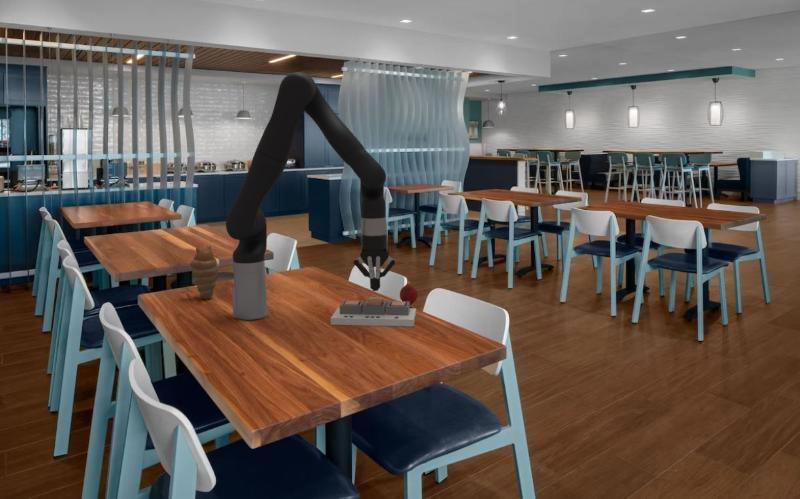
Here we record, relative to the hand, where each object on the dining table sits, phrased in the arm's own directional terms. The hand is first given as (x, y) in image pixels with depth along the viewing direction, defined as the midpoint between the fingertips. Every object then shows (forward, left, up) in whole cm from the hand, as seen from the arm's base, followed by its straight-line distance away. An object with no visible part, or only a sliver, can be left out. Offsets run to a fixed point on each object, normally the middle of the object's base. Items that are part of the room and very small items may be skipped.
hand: (375, 290), depth 179 cm
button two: (-7, 0, -6) cm, 9 cm away
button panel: (0, -1, -9) cm, 9 cm away
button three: (0, 0, -5) cm, 5 cm away
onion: (+9, +15, -9) cm, 19 cm away
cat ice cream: (-60, +19, -9) cm, 64 cm away
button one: (+7, 0, -6) cm, 9 cm away
